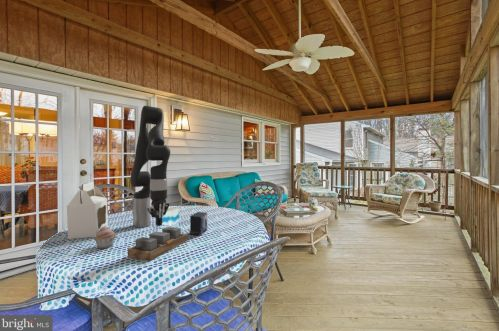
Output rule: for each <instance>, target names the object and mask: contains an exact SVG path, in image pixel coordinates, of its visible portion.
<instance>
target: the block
mask: <svg viewBox="0 0 499 331" xmlns="http://www.w3.org/2000/svg"><path fill="white" fill-rule="evenodd" d="M148 235H149V237H148V238H153V239H157V244H160V245H164V244H165V242H167V241H169V240H170V233H164V232H162V231H153V232H151V233H149V234H148Z"/></svg>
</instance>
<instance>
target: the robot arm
mask: <svg viewBox="0 0 499 331" xmlns="http://www.w3.org/2000/svg"><path fill="white" fill-rule="evenodd" d="M140 112H141V113H140V118H139V119H140V122H139V131H138V136H137V141H136V148H135V154H134V161H133V165H132V169H131V174H130V185H131V187H134V188H139V187H142V188H141V189H140V190H139V191H136V192H135V193H133V210H132V226H133V227H135V228H146V227H149V226H151V217H152V218H155V226H157V227H160V226H163V218H164V216H165V215H166V213H168V212H167V211H168V209H169V207H170V205H171V204H170V203H167V200H166V199H168V180H167V172H168V163H169V160H170V158H171V157H170V156H171V148H170V147H169V146H168V145H166V144H165V137H164V122H165V121H164V120H165V119H164V111H163V109H162V108H159V107H155V106H151V105H143V106H142V109H141V111H140ZM147 124H149V125H153V126H152V128H150V130H148V128H147ZM149 161H150V162H151V161H158V162H159V161H161V163H160V164H158V165H154V166H153V165H152V166H151V167H150V168H149V169H150V170H149V171H150V172H149V171H147V170H146V171H145V170H144V171H141V170H142V169H143V167H144V166H145V165H146V164H147V163H148V162H149Z"/></svg>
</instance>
